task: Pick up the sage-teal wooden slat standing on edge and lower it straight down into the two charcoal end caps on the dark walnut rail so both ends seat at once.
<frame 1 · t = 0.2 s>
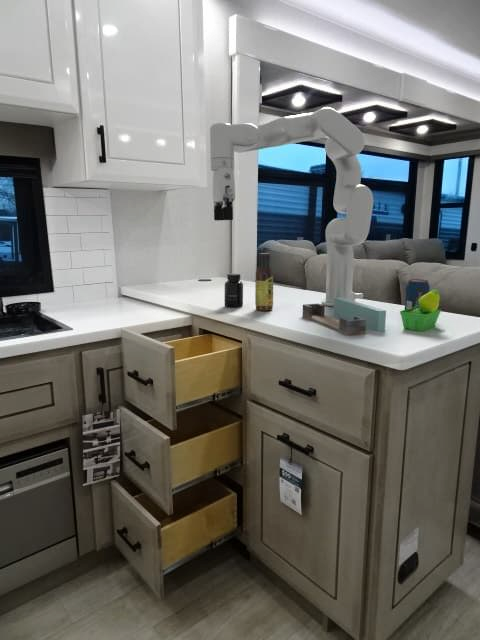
hand: (223, 220, 147), 31 cm above the worktop, tool pointing down, fingers open, 9 cm apart
supplement bottle: (233, 307, 165), on the worktop
soda can: (415, 318, 143), on the worktop
slat: (357, 323, 137), on the worktop
endcap rail: (331, 324, 134), on the worktop
sauce bottle: (264, 310, 158), on the worktop
fruit basket: (421, 328, 129), on the worktop
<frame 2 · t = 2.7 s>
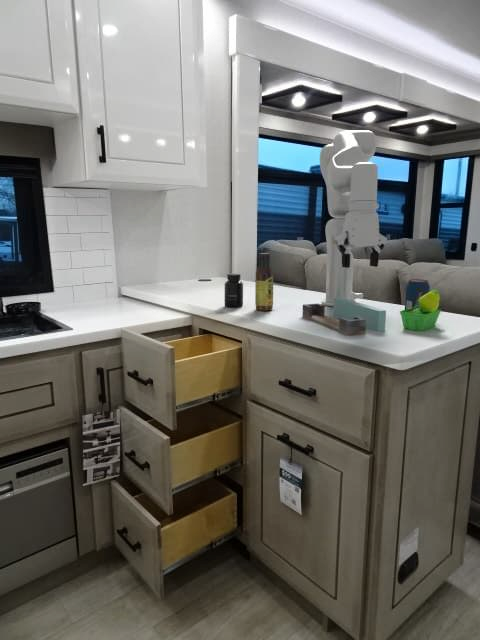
hand: (360, 266, 133), 17 cm above the worktop, tool pointing down, fingers open, 9 cm apart
nothing on the worktop moved.
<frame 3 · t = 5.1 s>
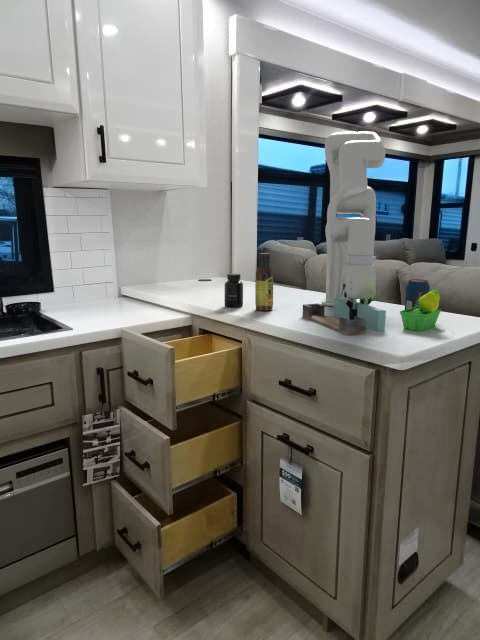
hand: (357, 320, 137), 0 cm above the worktop, tool pointing down, fingers closed on slat, 2 cm apart
slat: (357, 322, 137), on the worktop, touching gripper
everything else where it was.
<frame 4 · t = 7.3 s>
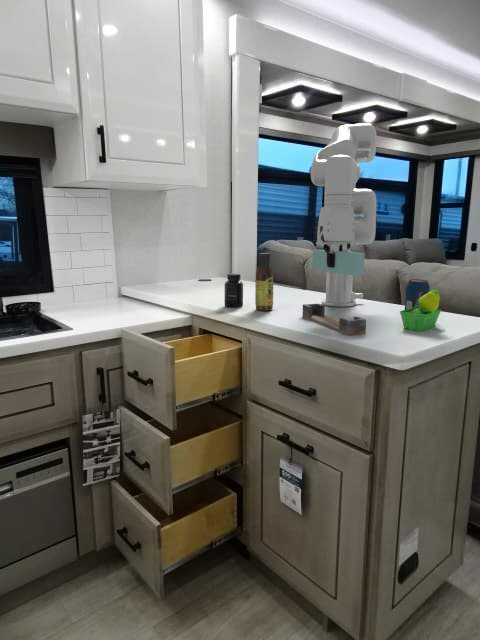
hand: (335, 266, 131), 17 cm above the worktop, tool pointing down, fingers closed on slat
slat: (335, 271, 131), point 16 cm above the worktop, touching gripper
everything else where it was.
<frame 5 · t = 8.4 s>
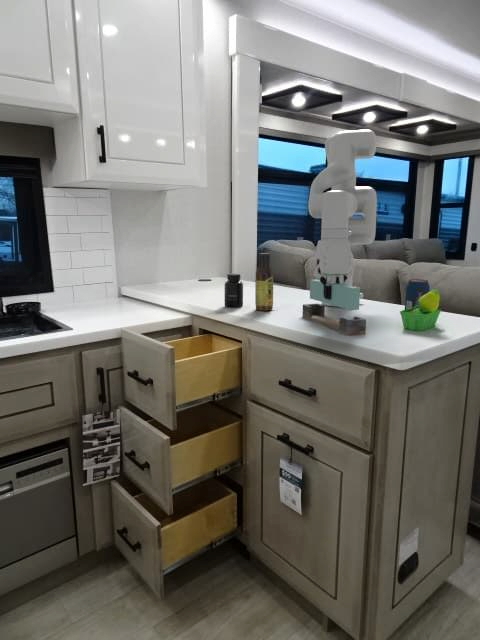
hand: (332, 298, 132), 8 cm above the worktop, tool pointing down, fingers closed on slat
slat: (332, 303, 132), point 6 cm above the worktop, touching gripper
everything else where it was.
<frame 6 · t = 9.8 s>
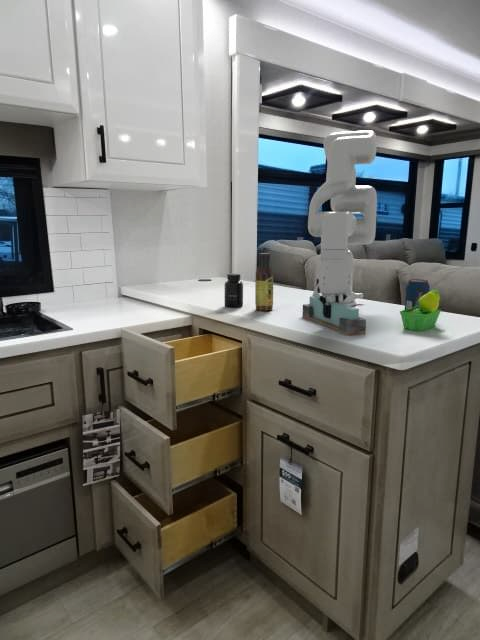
hand: (331, 316, 134), 2 cm above the worktop, tool pointing down, fingers closed on slat, 2 cm apart
slat: (331, 321, 134), point 1 cm above the worktop, touching endcap rail, gripper
everything else where it was.
when the fingers open (2 cm above the worktop, at t = 9.8 s): slat stays where it is, resting on endcap rail.
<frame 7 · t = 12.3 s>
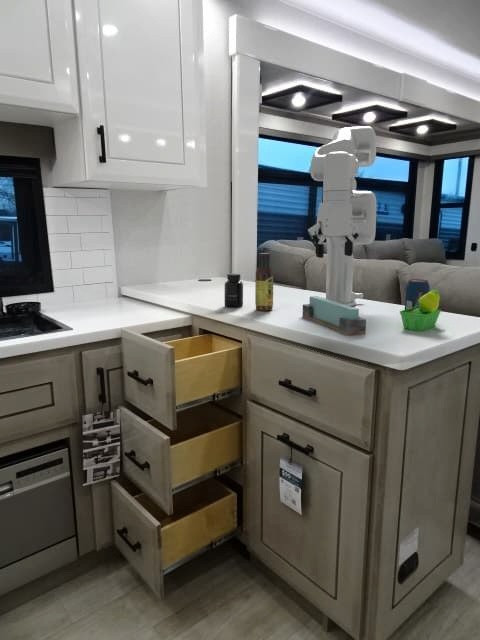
hand: (334, 256, 134), 20 cm above the worktop, tool pointing down, fingers open, 9 cm apart
slat: (331, 321, 134), point 1 cm above the worktop, touching endcap rail
everything else where it was.
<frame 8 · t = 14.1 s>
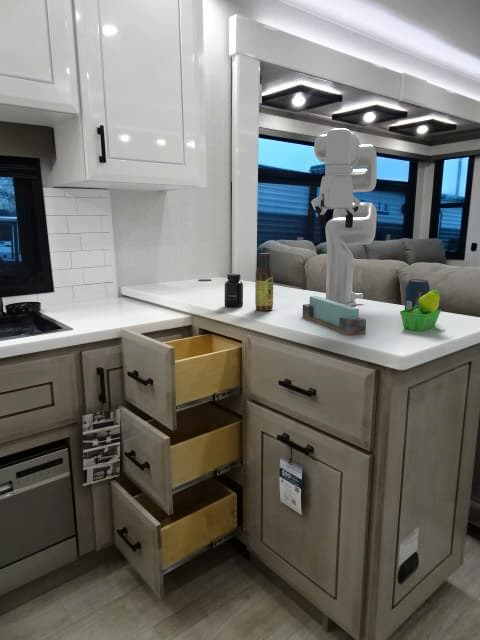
hand: (335, 227, 143), 28 cm above the worktop, tool pointing down, fingers open, 9 cm apart
nothing on the worktop moved.
at the end: slat 0.1 cm off-centre on the endcap rail, point 0.8 cm above the endcap rail's base; slat tilted 0°; the gripper is holding nothing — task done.
